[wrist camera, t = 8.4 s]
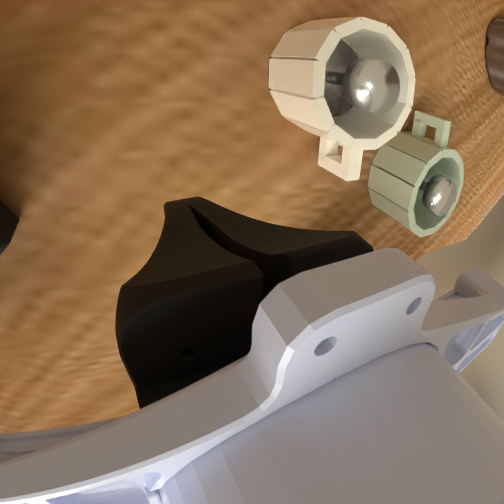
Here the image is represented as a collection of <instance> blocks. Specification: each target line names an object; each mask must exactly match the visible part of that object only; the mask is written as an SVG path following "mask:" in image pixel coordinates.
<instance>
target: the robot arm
mask: <svg viewBox="0 0 504 504" xmlns="http://www.w3.org/2000/svg"><path fill="white" fill-rule="evenodd" d="M164 213H165V222H164V227H163V230H162V233H161V237H160V239H159V242H158V244H157V246H156V248H155V250H154V252H153V254H152V255H151V257H150V259H149V260H148V262H147V263H146V264H145V265H144V267H143V268H142V269H141V270H140V271H139V272H138V273H137V274H136V275H135V276H133V277H132V278H131V279H130V280H129V281H127V282H126V283H125V284H123V285H122V287H121V289H120V293H119V298H118V303H117V310H116V325H115V328H116V338H117V344H118V349H119V353H120V357H121V359H122V361H123V363H124V366H125V368H126V370H127V372H128V374H129V376H130V378H131V381H132V383H133V385H134V387H135V391H136V395H137V399H138V403H139V407H140V409H139V410H137V411H135V412H132V413H130V414H128V415H126V416H122V417H117V418H113V419H108V420H102V421H97V422H91V423H86V424H80V425H74V426H67V427H60V428H53V429H45V430H37V431H28V432H17V433H5V434H0V504H504V423H503V422H502V421H501V420H500V419H499V417H498V416H497V415H496V414H495V413H494V412H493V411H492V409H491V408H490V407H489V406H488V405H487V404H486V403H485V402H484V401H483V399H482V398H481V397H480V396H479V395H478V394H477V393H476V392H475V391H474V390H473V388H472V387H471V386H470V385H469V384H468V383H467V382H466V381H465V380H464V379H463V378H462V377H461V375H460V374H459V373H460V372H461V371H462V370H463V369H464V368H465V367H466V366H467V365H468V364H469V363H470V362H471V361H472V360H473V359H474V358H475V357H476V356H478V355H479V354H480V353H481V352H482V351H483V350H484V349H485V348H486V347H487V346H488V345H489V344H490V343H491V341H492V340H493V338H494V337H495V335H496V333H497V332H498V331H499V329H500V327H501V326H502V324H503V323H504V286H502V285H501V284H500V283H499V282H497V281H496V280H495V279H494V278H493V277H491V276H490V275H489V274H488V273H486V272H485V271H484V270H482V269H481V268H480V267H479V266H477V265H474V266H472V267H470V268H468V269H466V270H464V271H463V272H462V273H461V274H460V275H459V277H458V279H457V281H456V283H455V286H454V290H452V291H450V292H448V293H446V294H445V295H443V296H441V297H439V298H438V299H436V300H434V301H432V300H433V296H434V292H435V281H434V279H433V277H432V275H431V274H430V273H429V272H428V271H427V270H425V269H424V268H423V267H422V266H421V265H419V264H418V263H416V261H414V260H413V259H412V258H411V257H409V256H408V255H407V254H405V253H404V252H403V251H402V250H400V249H399V248H383V249H380V250H376V251H374V249H373V247H372V246H371V245H370V244H369V243H367V242H366V241H365V240H364V239H363V238H361V237H360V236H359V235H358V234H357V233H355V232H354V231H318V230H306V229H297V228H291V227H285V226H280V225H275V224H271V223H267V222H263V221H259V220H256V219H253V218H249V217H247V216H244V215H241V214H238V213H236V212H233V211H231V210H229V209H226V208H224V207H222V206H220V205H217V204H215V203H213V202H211V201H209V200H206V199H204V198H201V197H192V198H187V199H181V200H176V201H171V202H166V203H165V205H164Z"/></svg>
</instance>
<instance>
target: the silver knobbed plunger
mask: <svg viewBox="0 0 504 504" xmlns="http://www.w3.org/2000/svg"><path fill="white" fill-rule="evenodd" d="M399 93H400V80H399V76H398V73H397V71H396V70H395V68H394V67H393V66H392V65H391V64H390V63H389V62H387V61H384V60H378V59H371V58H359V57H358V55H357V54H356V52H355V51H354V50H353V48H352V47H351V46H349V45H348V44H347V43H346V42H344V41H342V40H340V41H339V42H338V44H337V46H336V47H335V49H334V51H333V52H332V54H331V56H330V57H329V59H328V61H327V62H326V69H325V86H324V98H325V100H326V103H327V105H328V107H329V110H330V112H331V115H332V117H338V116H340V115H342V114H344V113H346V112H347V111H349V110H350V109H351V108H352V107H353V106H354V107H356V108H358V109H361V110H365V111H368V112H371V113H374V114H384V113H387V112H389V111H390V110H391V109H392V108H393V107H394V105H395V104H396V102H397V100H398V97H399Z"/></svg>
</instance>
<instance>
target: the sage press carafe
mask: <svg viewBox="0 0 504 504" xmlns="http://www.w3.org/2000/svg"><path fill="white" fill-rule="evenodd" d="M427 125H428V126H431V127H434V128H436V133H435V139H434V140H432V139H429V138H427V137H425V133H426V127H427ZM450 127H451V121H448V120H446V119H443V118H440V117H437V116H434V115H431V114H428V113H426V112H422V111H416V110H415V115H414V122H413V129H412V132H405V131H400V132H397V135H396V136H394V137H393V138H392V139H390V140H389V141H388V142H386V143H385V144H383V145H382V146H381V147H380V149H379V151H378V152H377V154H376V156H375V158H374V159H373V161H372V165H371V167H370V173H369V179H368V185H367V186H368V191H369V195H370V198H371V202H372V204H373V206H375V207H376V208H378V209H379V210H381V211H382V212H384V213H385V214H387V215H388V216H390V217H391V218H393V219H394V220H396V221H397V222H399V223H400V224H402V225H403V226H404V227H406V228H407V229H409V230H410V231H412V232H413V233H414V234H416V235H417V236H419V237H424V236H427V235H431V234H433V233H435V232H436V231H437V230H438V229H439V228H440V227H441V226H442V225H443V224H444V223H445V222H446V221H447V219H449V217H450V215H451V213H452V212H453V210H454V208H455V206H456V204H457V203H458V201H457V200H459V197H460V193H461V190H462V186H463V182H464V181H463V180H464V166H463V160H462V159H461V157H460V156H459V154H458V152H457V151H456V150H455V149H453V148H450V147H448V146H447V143H448V138H449V133H450ZM436 174H441V175H442V176H444V177H446V178H448V179H450V180H452V181H454V182H455V184H456V188H457V191H456V197H455V200H454V202H453V204H452V206H451V208H450V209H449V210H448V212H447V213H445V214H444V215H442V216H438V215H436V214H435V213H433V212H432V211H430V210H428V209H427V208H425V207H424V205H423V202H422V197H423V192H424V191H422V190H419V191H418V189H419V187H420V185H421V183H422V181H423V180H424V181H426V182H428V181H429V180H430V179H431V178H432V177H433V176H434V175H436Z"/></svg>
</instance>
